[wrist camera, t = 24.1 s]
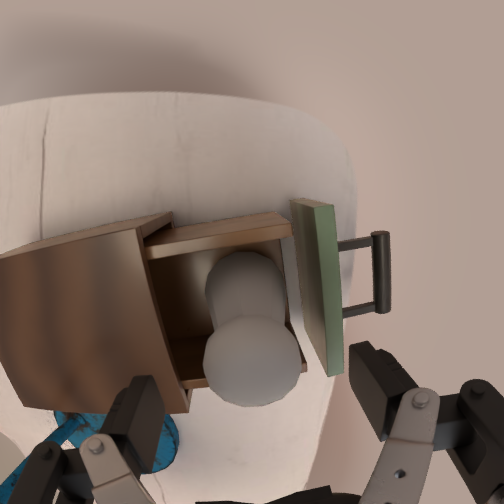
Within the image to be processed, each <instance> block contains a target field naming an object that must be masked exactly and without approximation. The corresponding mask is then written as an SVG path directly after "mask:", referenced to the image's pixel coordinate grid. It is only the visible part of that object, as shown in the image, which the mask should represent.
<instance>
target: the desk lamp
mask: <svg viewBox="0 0 504 504" xmlns="http://www.w3.org/2000/svg"><path fill="white" fill-rule="evenodd" d="M54 416H55V419H56V422H57V424H58V426H59V427H58V428H57V429H56V430H55V431H53V432H52V433H51V434H50V435H49V436H48V437H47V438H46V439H45V440H44V441H55V442H57V443H58V444H59V445H60V446H61V445H62V444H63V443H64V442H65V441H66V440H67V439H68V440H69V441H70V442H71V443H72V444H73V446H74V447H75V448H80V445H81V443H82V442H83V441H84V440H85V439H86V438H87V437H89V436H91V435H94V434H98V433H99V431H100V429H101V427H102V425H103V422H104V420H105V418H106V416H107V414H89V413H74V412H63V411H54ZM44 441H43V442H44ZM178 446H179V434H178V430H177V428H176V426H175V423H174V421H173V419H172V418H171V417H170V416H169V414H165V419H164V423H163V427H162V431H161V435H160V439H159V444H158V448H157V452H156V456H155V461H154V465H153V469H152V473H156V472H158V471H161V470H163V469H166V468H167V467H168V466H169V465H170V464H171V463H172V462H173V461H174V459H175V456H176V453H177V450H178ZM29 456H30V455H29ZM29 456H28V457H27V458H26V459H25V460H24V461H23V462H22V463H21V464H20V465H19V466H18V467H17V468H16V469H15V470H14V471H13V472H12V473H11V474H10V475H9V477H8V478H7V479H6V480H5V481H4V482H3V483H2V484H1V485H0V504H7V502H8V500H9V497H10V495H11V493H12V491H13V489H14V487H15V485H16V482H17V480H18V478H19V476H20V474H21V472H22V470H23V468H24V466H25V464H26V462H27V460H28V458H29ZM141 474H142V473H141Z"/></svg>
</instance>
